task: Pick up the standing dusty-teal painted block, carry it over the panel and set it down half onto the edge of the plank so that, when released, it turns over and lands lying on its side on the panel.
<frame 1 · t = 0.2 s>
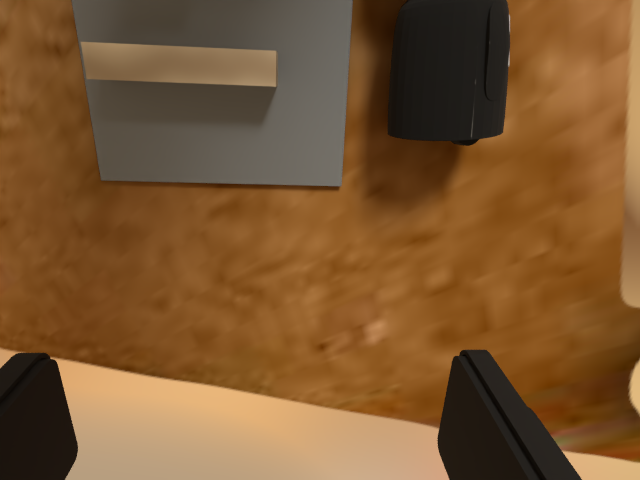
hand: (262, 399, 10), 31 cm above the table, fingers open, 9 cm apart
figurine: (432, 12, 35), on the table
plank: (195, 65, 35), resting on panel
panel: (219, 79, 35), on the table
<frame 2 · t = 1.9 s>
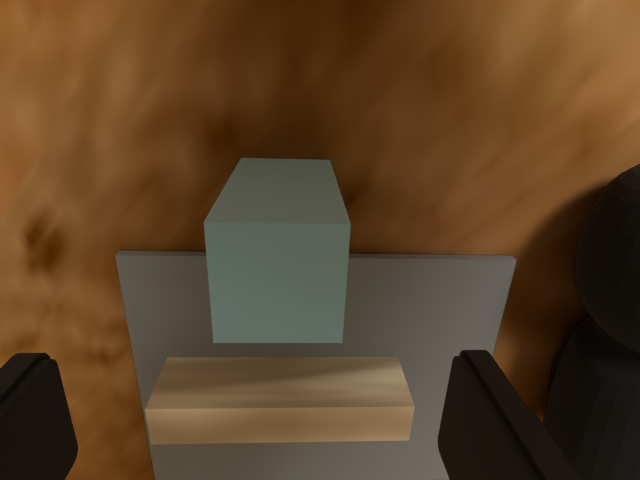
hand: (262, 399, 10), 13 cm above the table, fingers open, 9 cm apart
block: (285, 201, 22), on the table
figurine: (599, 302, 26), on the table
plank: (284, 366, 26), resting on panel
panel: (315, 378, 27), on the table
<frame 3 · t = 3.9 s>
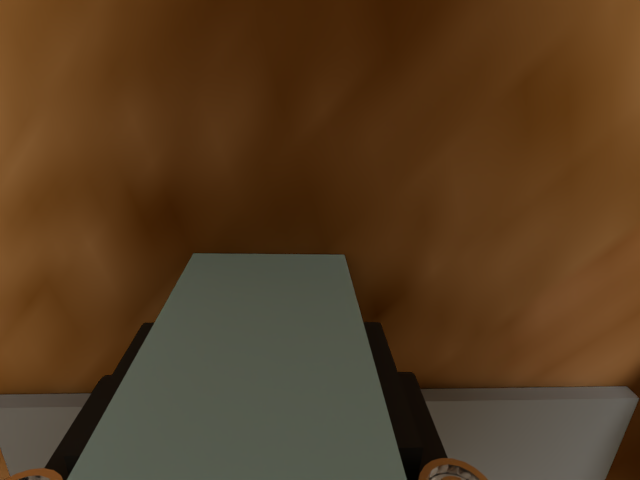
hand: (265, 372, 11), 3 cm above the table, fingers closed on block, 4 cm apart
block: (270, 318, 13), on the table, touching gripper
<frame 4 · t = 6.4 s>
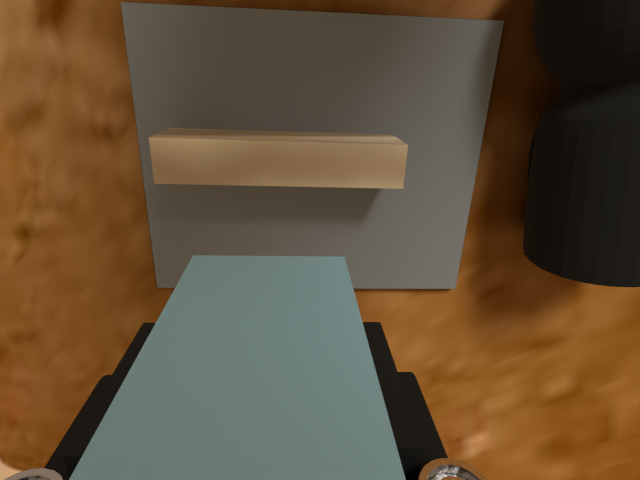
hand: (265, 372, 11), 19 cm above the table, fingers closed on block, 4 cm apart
block: (270, 320, 13), point 16 cm above the table, touching gripper
figurine: (569, 96, 27), on the table
plank: (283, 149, 27), resting on panel
panel: (313, 165, 28), on the table
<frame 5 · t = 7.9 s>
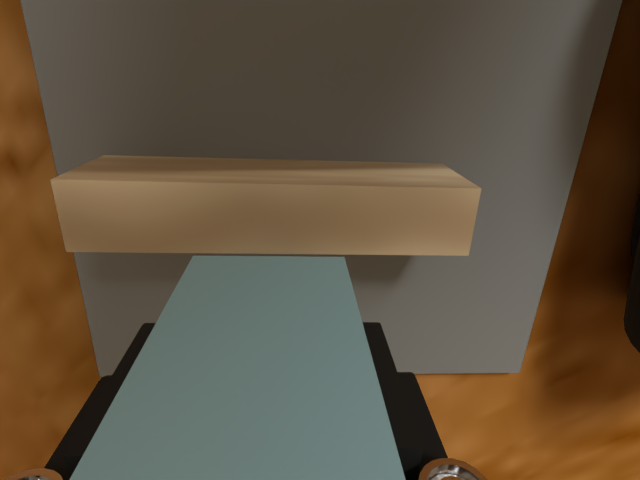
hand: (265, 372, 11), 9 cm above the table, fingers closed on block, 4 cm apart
block: (270, 320, 13), point 7 cm above the table, touching gripper
plank: (278, 184, 18), resting on panel
panel: (322, 207, 19), on the table
when the fingers open (8 cm above the table, at t = 9.0 s): block drops 2 cm and tips over, resting on panel.
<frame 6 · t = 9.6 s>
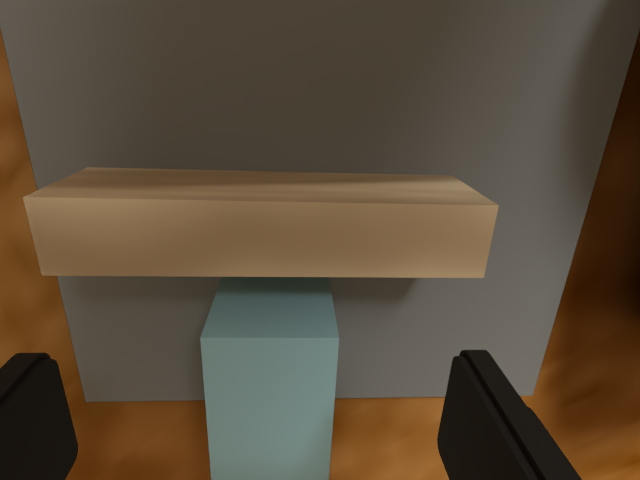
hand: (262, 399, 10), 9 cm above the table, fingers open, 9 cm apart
block: (273, 302, 15), point 3 cm above the table, tilted 90°, touching panel
plank: (276, 198, 17), resting on panel
panel: (323, 221, 17), on the table
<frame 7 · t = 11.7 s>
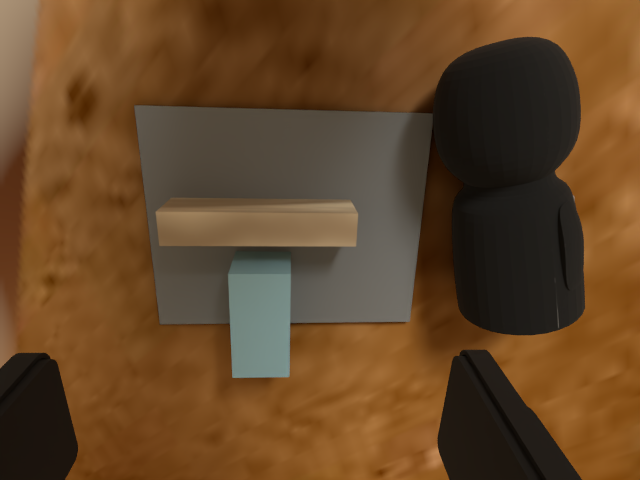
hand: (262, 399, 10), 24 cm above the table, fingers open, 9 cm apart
block: (261, 262, 32), point 3 cm above the table, tilted 90°, touching panel
figurine: (480, 178, 34), on the table
plank: (263, 211, 33), resting on panel
panel: (287, 223, 34), on the table
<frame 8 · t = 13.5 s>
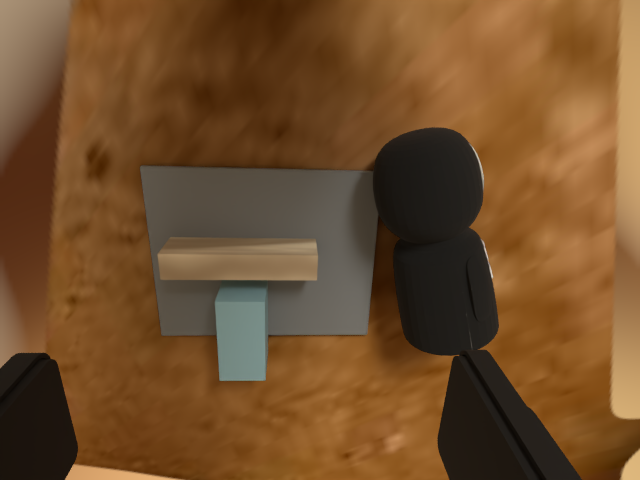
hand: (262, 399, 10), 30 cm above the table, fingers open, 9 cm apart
block: (242, 289, 40), point 3 cm above the table, tilted 90°, touching panel
figurine: (421, 224, 42), on the table
plank: (244, 247, 41), resting on panel
panel: (265, 256, 42), on the table
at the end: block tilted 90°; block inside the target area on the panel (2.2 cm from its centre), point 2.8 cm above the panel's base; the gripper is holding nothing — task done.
